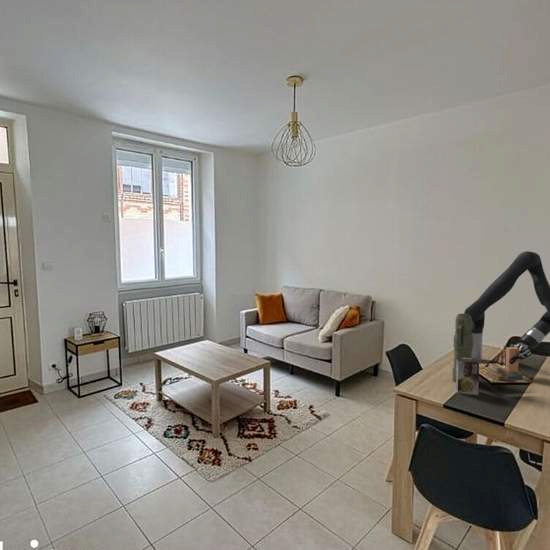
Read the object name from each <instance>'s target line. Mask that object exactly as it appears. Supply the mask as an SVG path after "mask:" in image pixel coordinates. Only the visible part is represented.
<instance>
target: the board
mask: <svg viewBox="0 0 550 550" xmlns="http://www.w3.org/2000/svg"><path fill="white" fill-rule="evenodd" d="M505 349H506V353H505V358H506V361H505V371H508V372H509V373H519V360H517V361H516V362H514V363H513V364H510V363H509V360H510V359H511V358H512V357H513V356H514V355H515V354H516V352H517V351H518V350H519V348H517V347H510V346H507V347H506V348H505ZM514 357H515V356H514Z"/></svg>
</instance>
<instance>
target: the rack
mask: <svg viewBox="0 0 550 550" xmlns="http://www.w3.org/2000/svg"><path fill="white" fill-rule="evenodd" d="M484 374H485V375H487V376H488V377H490V378H492V379H493V380H496V381H497V382H509V381H510V382H511V381H512V382H515V381H516V382H517V381H529V378H525V377H524V373H523V372H518V373H509V376H508V380H497V379H495V378H493V377H492V376H490V375H488V374H487V372H486V373H484Z"/></svg>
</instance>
